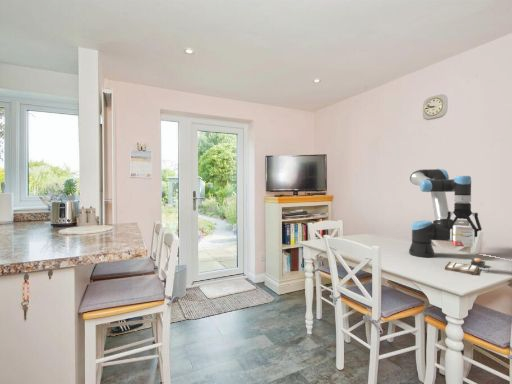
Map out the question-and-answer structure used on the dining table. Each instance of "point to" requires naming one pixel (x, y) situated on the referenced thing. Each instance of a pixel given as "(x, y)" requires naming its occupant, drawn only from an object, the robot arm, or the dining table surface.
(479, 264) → the button housing
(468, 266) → the brown divided square tray
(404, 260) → the dining table surface
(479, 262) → the button
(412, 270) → the dining table surface
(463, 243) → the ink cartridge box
